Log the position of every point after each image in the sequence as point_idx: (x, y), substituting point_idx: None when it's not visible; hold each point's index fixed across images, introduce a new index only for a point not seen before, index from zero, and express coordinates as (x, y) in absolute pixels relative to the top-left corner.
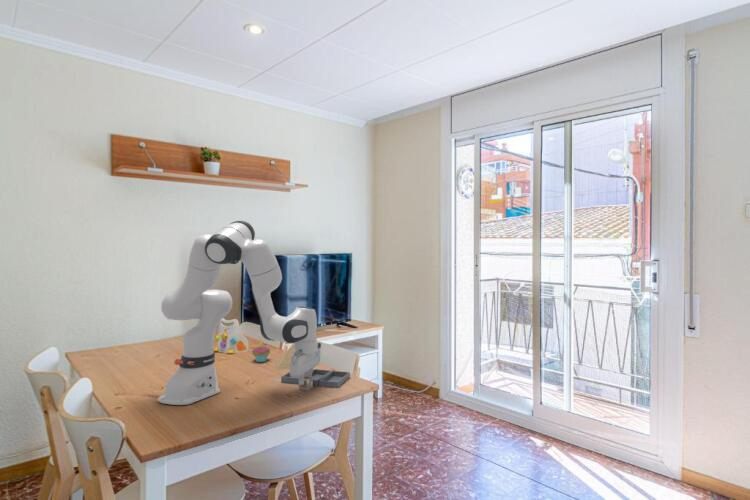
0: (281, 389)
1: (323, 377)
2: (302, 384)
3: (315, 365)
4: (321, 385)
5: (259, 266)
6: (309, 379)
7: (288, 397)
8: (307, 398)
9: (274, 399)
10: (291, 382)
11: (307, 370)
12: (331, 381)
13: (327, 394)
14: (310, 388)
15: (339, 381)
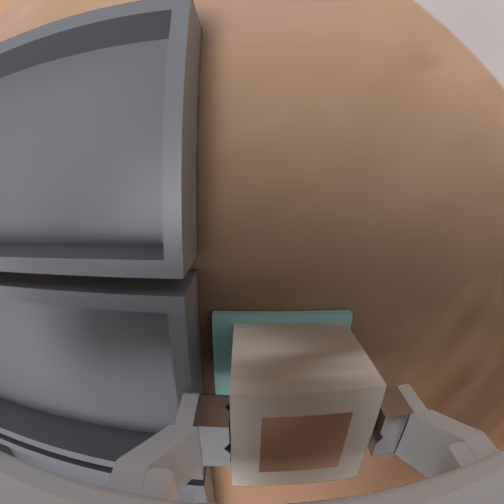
0: (338, 483)
1: (52, 272)
2: (404, 390)
3: (46, 487)
4: (192, 230)
5: None
6: (341, 382)
7: (482, 372)
8: (500, 234)
9: (496, 413)
10: (212, 491)
11: (440, 490)
12: (171, 81)
13: (391, 82)
14: (304, 317)
15: (131, 5)
